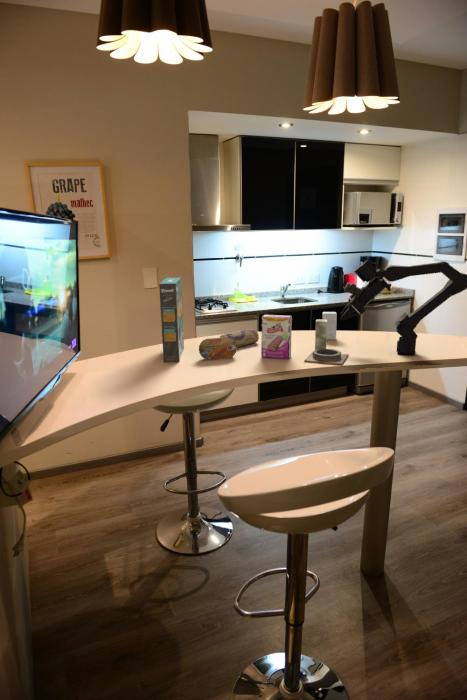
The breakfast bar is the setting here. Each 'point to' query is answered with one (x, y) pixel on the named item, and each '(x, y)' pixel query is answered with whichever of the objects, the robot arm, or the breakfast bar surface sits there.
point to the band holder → (326, 357)
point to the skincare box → (330, 324)
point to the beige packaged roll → (243, 337)
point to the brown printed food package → (217, 348)
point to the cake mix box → (171, 319)
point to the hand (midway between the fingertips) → (340, 317)
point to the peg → (320, 334)
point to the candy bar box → (276, 336)
